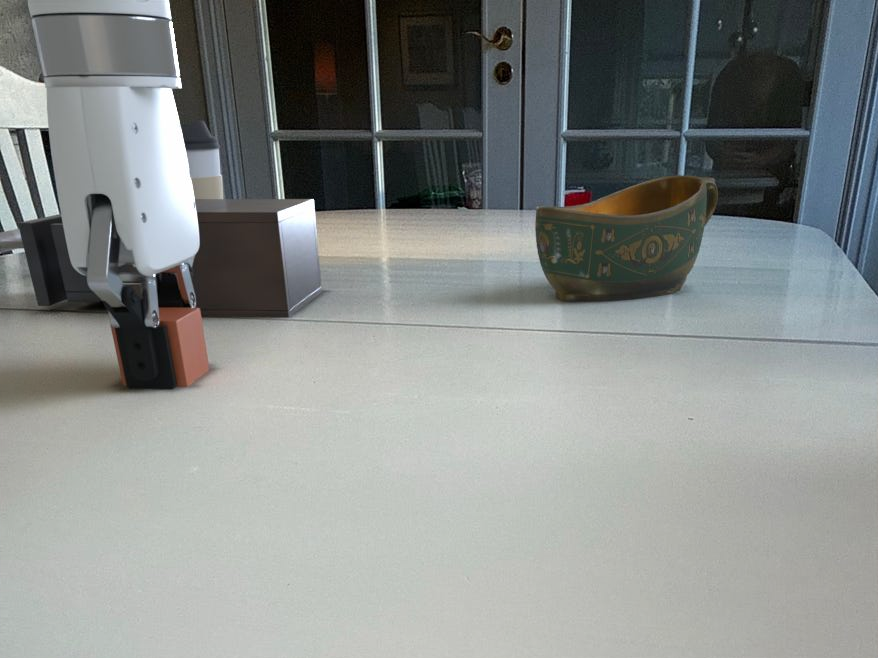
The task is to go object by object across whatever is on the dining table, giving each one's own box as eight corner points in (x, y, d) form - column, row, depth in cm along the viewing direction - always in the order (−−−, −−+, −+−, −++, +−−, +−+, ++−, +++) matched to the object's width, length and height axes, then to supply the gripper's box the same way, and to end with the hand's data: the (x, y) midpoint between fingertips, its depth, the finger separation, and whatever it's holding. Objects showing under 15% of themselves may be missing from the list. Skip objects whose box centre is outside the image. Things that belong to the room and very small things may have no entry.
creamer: (749, 302, 84) (765, 182, 79) (539, 309, 82) (543, 186, 77) (701, 280, 95) (713, 173, 90) (516, 285, 93) (517, 176, 88)
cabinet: (138, 318, 80) (118, 211, 75) (189, 293, 90) (174, 199, 86) (289, 320, 79) (277, 212, 74) (322, 294, 89) (313, 199, 85)
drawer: (-21, 305, 81) (-43, 222, 77) (43, 284, 90) (25, 209, 87) (173, 307, 79) (158, 223, 76) (215, 285, 89) (204, 210, 86)
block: (123, 389, 59) (108, 320, 57) (149, 372, 63) (137, 306, 61) (187, 390, 59) (176, 320, 57) (210, 373, 63) (200, 307, 61)
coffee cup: (137, 281, 97) (107, 121, 89) (180, 269, 105) (155, 120, 97) (213, 284, 95) (189, 121, 87) (251, 271, 103) (232, 119, 95)
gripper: (110, 66, 59) (162, 349, 69) (-37, 52, 45) (54, 414, 54) (221, 65, 59) (258, 351, 68) (109, 50, 44) (175, 416, 53)
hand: (167, 376), depth 61 cm, fingers closed on block, 4 cm apart
